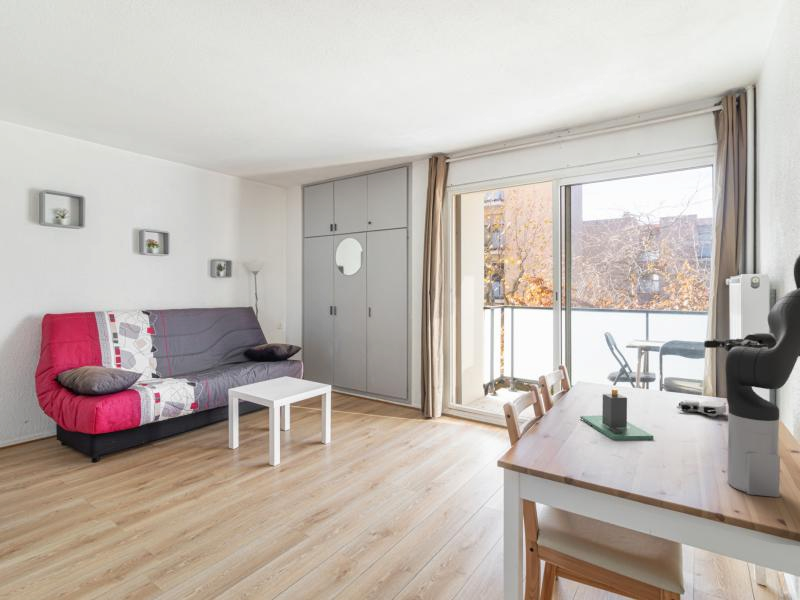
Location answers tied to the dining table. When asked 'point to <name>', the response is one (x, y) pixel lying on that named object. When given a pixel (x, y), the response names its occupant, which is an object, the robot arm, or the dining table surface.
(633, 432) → the header board
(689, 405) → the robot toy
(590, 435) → the dining table surface
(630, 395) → the dining table surface
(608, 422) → the block
